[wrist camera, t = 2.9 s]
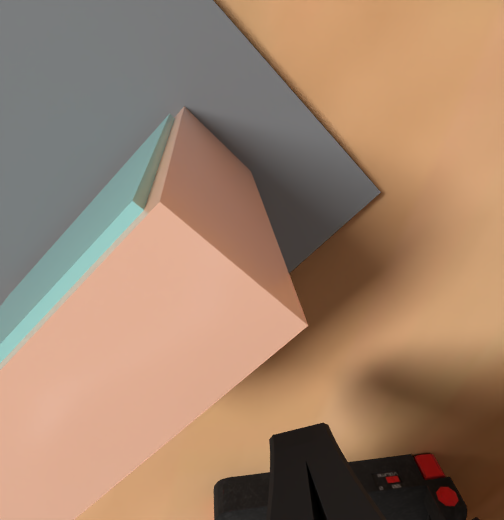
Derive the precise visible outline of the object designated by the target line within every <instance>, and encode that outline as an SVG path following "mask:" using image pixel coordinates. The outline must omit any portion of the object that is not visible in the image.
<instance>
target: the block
mask: <svg viewBox="0 0 504 520" xmlns="http://www.w3.org/2000/svg"><path fill="white" fill-rule="evenodd" d="M307 326H308V323H307V321H306V318H305V315H304V313H303V310H302V307H301V305H300V302H299V299H298V297H297V294H296V291H295V288H294V286H293V283H292V280H291V278H290V275H289V272H288V270H287V267H286V264H285V261H284V259H283V256H282V253H281V251H280V248H279V245H278V243H277V240H276V237H275V235H274V232H273V229H272V226H271V224H270V221H269V218H268V216H267V213H266V210H265V208H264V205H263V202H262V199H261V197H260V194H259V191H258V189H257V186H256V183H255V181H254V178H253V175H252V173H251V171H250V170H249V169H248V168H247V167H246V166H245V165H244V164H243V163H242V162H241V161H240V160H239V159H238V158H237V157H236V156H235V155H234V154H233V153H232V152H231V151H230V150H229V149H228V148H227V147H226V146H225V145H224V144H223V143H222V142H221V141H219V140H218V139H217V138H216V137H215V136H214V135H213V134H212V133H211V132H210V131H209V130H208V129H207V128H206V127H205V126H204V125H203V124H202V123H201V122H200V121H199V120H198V119H197V118H196V117H195V116H194V115H193V114H192V113H191V112H190V111H189V110H188V109H187V108H186V107H185V106H184V107H183V108H182V109H181V110H180V112H179V113H178V114H177V115H176V116H175V117H173V116H172V115H171V114H169V115H168V116H167V117H166V118H165V119H164V120H163V122H162V123H161V124H160V125H159V126H158V127H157V128H156V129H155V131H154V132H153V133H152V134H151V135H150V136H149V137H148V138H147V140H146V141H145V142H144V143H143V144H142V145H141V146H140V148H139V149H138V150H137V151H136V152H135V153H134V154H133V155H132V157H131V158H130V159H129V160H128V161H127V162H126V163H125V164H124V166H123V167H122V168H121V169H120V170H119V171H118V172H117V173H116V175H115V176H114V177H113V178H112V179H111V180H110V181H109V183H108V184H107V185H106V186H105V187H104V188H103V189H102V190H101V192H100V193H99V194H98V195H97V196H96V197H95V198H94V199H93V201H92V202H91V203H90V204H89V205H88V206H87V207H86V208H85V210H84V211H83V212H82V213H81V214H80V215H79V216H78V218H77V219H76V220H75V221H74V222H73V223H72V224H71V225H70V227H69V228H68V229H67V230H66V231H65V232H64V233H63V234H62V236H61V237H60V238H59V239H58V240H57V241H56V242H55V243H54V245H53V246H52V247H51V248H50V249H49V250H48V251H47V253H46V254H45V255H44V256H43V257H42V258H41V259H40V260H39V262H38V263H37V264H36V265H35V266H34V267H33V268H32V269H31V271H30V272H29V273H28V274H27V275H26V276H25V277H24V278H23V280H22V281H21V282H20V283H19V284H18V285H17V286H16V288H15V289H14V290H13V291H12V292H11V293H10V294H9V295H8V297H7V298H6V299H5V301H4V302H3V303H2V305H1V306H0V520H74V519H76V518H77V517H78V516H79V515H81V514H82V513H83V512H84V511H85V510H87V509H88V508H89V507H90V506H91V505H93V504H94V503H95V502H96V501H97V500H99V499H100V498H101V497H102V496H103V495H105V494H106V493H107V492H108V491H109V490H111V489H112V488H113V487H114V486H115V485H117V484H118V483H119V482H120V481H122V480H123V479H124V478H125V477H126V476H128V475H129V474H130V473H131V472H132V471H134V470H135V469H136V468H137V467H138V466H140V465H141V464H142V463H143V462H144V461H146V460H147V459H148V458H149V457H150V456H152V455H153V454H154V453H155V452H156V451H158V450H159V449H160V448H161V447H163V446H164V445H165V444H166V443H167V442H169V441H170V440H171V439H172V438H173V437H175V436H176V435H177V434H178V433H179V432H181V431H182V430H183V429H184V428H185V427H187V426H188V425H189V424H190V423H191V422H193V421H194V420H195V419H196V418H197V417H199V416H200V415H201V414H202V413H204V412H205V411H206V410H207V409H208V408H210V407H211V406H212V405H213V404H214V403H216V402H217V401H218V400H219V399H220V398H222V397H223V396H224V395H225V394H226V393H228V392H229V391H230V390H231V389H232V388H234V387H235V386H236V385H237V384H238V383H240V382H241V381H242V380H243V379H245V378H246V377H247V376H248V375H249V374H251V373H252V372H253V371H254V370H255V369H257V368H258V367H259V366H260V365H261V364H263V363H264V362H265V361H266V360H267V359H269V358H270V357H271V356H272V355H273V354H275V353H276V352H277V351H278V350H279V349H281V348H282V347H283V346H284V345H286V344H287V343H288V342H289V341H290V340H292V339H293V338H294V337H295V336H296V335H298V334H299V333H300V332H301V331H302V330H304V329H305V328H306V327H307Z"/></svg>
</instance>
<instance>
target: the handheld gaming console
mask: <svg viewBox="0 0 504 520" xmlns="http://www.w3.org/2000/svg"><path fill="white" fill-rule="evenodd" d="M348 463H349V465H350V467H351V468H352V470H353V472H354V473H355V475H356V476H357V478H358V479H359V481H360V482H361V484H362V485H363V487H364V488H365V490H366V491H367V493H368V494H369V495H370V497H371V498H372V500H373V501H374V502H375V504H376V505H377V507H378V508H379V510H380V511H381V512H382V514H383V515H384V517H385V518H386V519H387V520H466V518H467V507H466V504H465V502H464V501H463V499H462V497H461V495H460V494H459V492H458V490H457V488H456V487H455V485H454V483H453V481H452V480H451V478H450V477H446V476H445V475H444V473H443V471H442V469H441V467H440V466H439V464H438V462H437V460H436V458H435V457H434V455H433V454H423V455H416V456H415V457H414V458H413V457H412V455H411V454H409V455H401V456H393V457H386V458H378V459H370V460H362V461H354V462H348ZM269 482H270V472H269V473H261V474H253V475H245V476H237V477H230V478H225V479H222V480H220V481H218V482H217V483H216V484H215V486H214V520H266V514H267V505H268V496H269ZM472 520H479V519H478V518H477V517H475V518H474V519H472Z"/></svg>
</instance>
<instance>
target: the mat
mask: <svg viewBox="0 0 504 520" xmlns="http://www.w3.org/2000/svg"><path fill="white" fill-rule="evenodd" d="M184 106H185V107H186V108H187V109H188V110H189V111H190V112H191V113H192V114H193V115H194V116H195V117H196V118H197V119H198V120H199V121H200V122H201V123H202V124H203V125H204V126H205V127H206V128H207V129H208V130H209V131H210V132H211V133H212V134H213V135H214V136H215V137H216V138H217V139H218V140H219V141H221V142H222V143H223V144H224V145H225V146H226V147H227V148H228V149H229V150H230V151H231V152H232V153H233V154H234V155H235V156H236V157H237V158H238V159H239V160H240V161H241V162H242V163H243V164H244V165H245V166H246V167H247V168H248V169H249V170H250V171H251V173H252V175H253V178H254V181H255V183H256V186H257V189H258V191H259V194H260V197H261V199H262V202H263V205H264V208H265V210H266V213H267V216H268V218H269V221H270V224H271V226H272V229H273V232H274V235H275V237H276V240H277V243H278V245H279V248H280V251H281V253H282V256H283V259H284V261H285V264H286V267H287V270H288V272H289V273H290V272H291V271H292V270H294V269H295V268H296V267H297V266H298V265H299V264H300V263H301V262H303V261H304V260H305V259H306V258H307V257H308V256H309V255H311V254H312V253H313V252H314V251H315V250H316V249H317V248H318V247H320V246H321V245H322V244H323V243H324V242H325V241H326V240H327V239H329V238H330V237H331V236H332V235H333V234H334V233H335V232H336V231H338V230H339V229H340V228H341V227H342V226H343V225H344V224H346V223H347V222H348V221H349V220H350V219H351V218H352V217H353V216H355V215H356V214H357V213H358V212H359V211H360V210H361V209H362V208H364V207H365V206H366V205H367V204H368V203H369V202H370V201H371V200H373V199H374V198H375V197H376V196H377V195H378V194H379V193H381V192H380V191H379V190H378V188H377V187H376V186H375V185H374V184H373V183H372V182H371V180H370V179H369V178H368V177H367V176H366V175H365V174H364V172H363V171H362V170H361V169H360V168H359V167H358V166H357V164H356V163H355V162H354V161H353V160H352V159H351V158H350V156H349V155H348V154H347V153H346V152H345V151H344V150H343V148H342V147H341V146H340V145H339V144H338V143H337V141H336V140H335V139H334V138H333V137H332V136H331V135H330V133H329V132H328V131H327V130H326V129H325V128H324V127H323V125H322V124H321V123H320V122H319V121H318V120H317V119H316V117H315V116H314V115H313V114H312V113H311V112H310V111H309V109H308V108H307V107H306V106H305V105H304V104H303V103H302V101H301V100H300V99H299V98H298V97H297V96H296V95H295V93H294V92H293V91H292V90H291V89H290V88H289V87H288V85H287V84H286V83H285V82H284V81H283V80H282V79H281V77H280V76H279V75H278V74H277V73H276V72H275V71H274V69H273V68H272V67H271V66H270V65H269V64H268V63H267V61H266V60H265V59H264V58H263V57H262V56H261V54H260V53H259V52H258V51H257V50H256V49H255V48H254V46H253V45H252V44H251V43H250V42H249V41H248V40H247V38H246V37H245V36H244V35H243V34H242V33H241V32H240V30H239V29H238V28H237V27H236V26H235V25H234V24H233V22H232V21H231V20H230V19H229V18H228V17H227V16H226V14H225V13H224V12H223V11H222V10H221V9H220V8H219V6H218V5H217V4H216V3H215V2H214V1H213V0H0V306H1V305H2V303H3V302H4V301H5V299H6V298H7V297H8V295H9V294H10V293H11V292H12V291H13V290H14V289H15V288H16V286H17V285H18V284H19V283H20V282H21V281H22V280H23V278H24V277H25V276H26V275H27V274H28V273H29V272H30V271H31V269H32V268H33V267H34V266H35V265H36V264H37V263H38V262H39V260H40V259H41V258H42V257H43V256H44V255H45V254H46V253H47V251H48V250H49V249H50V248H51V247H52V246H53V245H54V243H55V242H56V241H57V240H58V239H59V238H60V237H61V236H62V234H63V233H64V232H65V231H66V230H67V229H68V228H69V227H70V225H71V224H72V223H73V222H74V221H75V220H76V219H77V218H78V216H79V215H80V214H81V213H82V212H83V211H84V210H85V208H86V207H87V206H88V205H89V204H90V203H91V202H92V201H93V199H94V198H95V197H96V196H97V195H98V194H99V193H100V192H101V190H102V189H103V188H104V187H105V186H106V185H107V184H108V183H109V181H110V180H111V179H112V178H113V177H114V176H115V175H116V173H117V172H118V171H119V170H120V169H121V168H122V167H123V166H124V164H125V163H126V162H127V161H128V160H129V159H130V158H131V157H132V155H133V154H134V153H135V152H136V151H137V150H138V149H139V148H140V146H141V145H142V144H143V143H144V142H145V141H146V140H147V138H148V137H149V136H150V135H151V134H152V133H153V132H154V131H155V129H156V128H157V127H158V126H159V125H160V124H161V123H162V122H163V120H164V119H165V118H166V117H167V116H168V115H169V114H171V115H172V116H173V117H175V116H176V115H177V114H178V113H179V112H180V110H181V109H182V108H183V107H184Z"/></svg>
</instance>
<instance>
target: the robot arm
mask: <svg viewBox="0 0 504 520" xmlns="http://www.w3.org/2000/svg"><path fill="white" fill-rule="evenodd" d="M269 441H270V482H269V496H268V505H267V514H266V520H387V519H386V518H385V517H384V515H383V514H382V512H381V511H380V510H379V508H378V507H377V505H376V504H375V502H374V501H373V500H372V498H371V497H370V495H369V494H368V493H367V491H366V490H365V488H364V487H363V485H362V484H361V482H360V481H359V479H358V478H357V476H356V475H355V473H354V472H353V470H352V468H351V467H350V465H349V463H348V462H347V460H346V459H345V457H344V455H343V453H342V452H341V450H340V448H339V446H338V444H337V443H336V441H335V439H334V437H333V435H332V432H331V430H330V428H329V425H327V424H325V423H320V424H316V425H312V426H308V427H304V428H300V429H296V430H292V431H288V432H284V433H280V434H276V435H273V436H272V437H271V438H270V439H269Z"/></svg>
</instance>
